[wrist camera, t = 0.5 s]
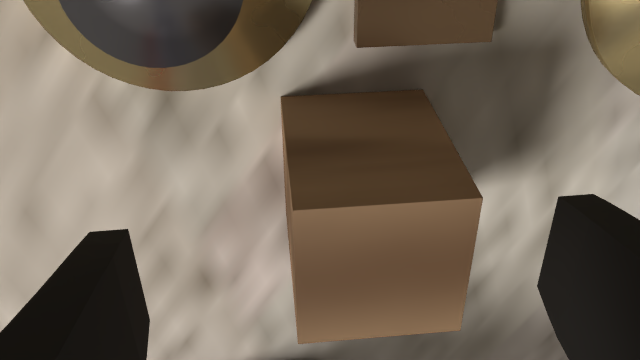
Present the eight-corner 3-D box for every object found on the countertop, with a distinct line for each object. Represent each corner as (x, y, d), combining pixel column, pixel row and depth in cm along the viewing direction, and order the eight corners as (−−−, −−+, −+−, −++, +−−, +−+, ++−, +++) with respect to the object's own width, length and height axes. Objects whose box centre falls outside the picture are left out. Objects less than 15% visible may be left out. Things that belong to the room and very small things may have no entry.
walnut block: (411, 203, 22) (460, 330, 17) (286, 212, 22) (298, 343, 17) (422, 89, 19) (482, 198, 14) (280, 96, 19) (292, 210, 14)
